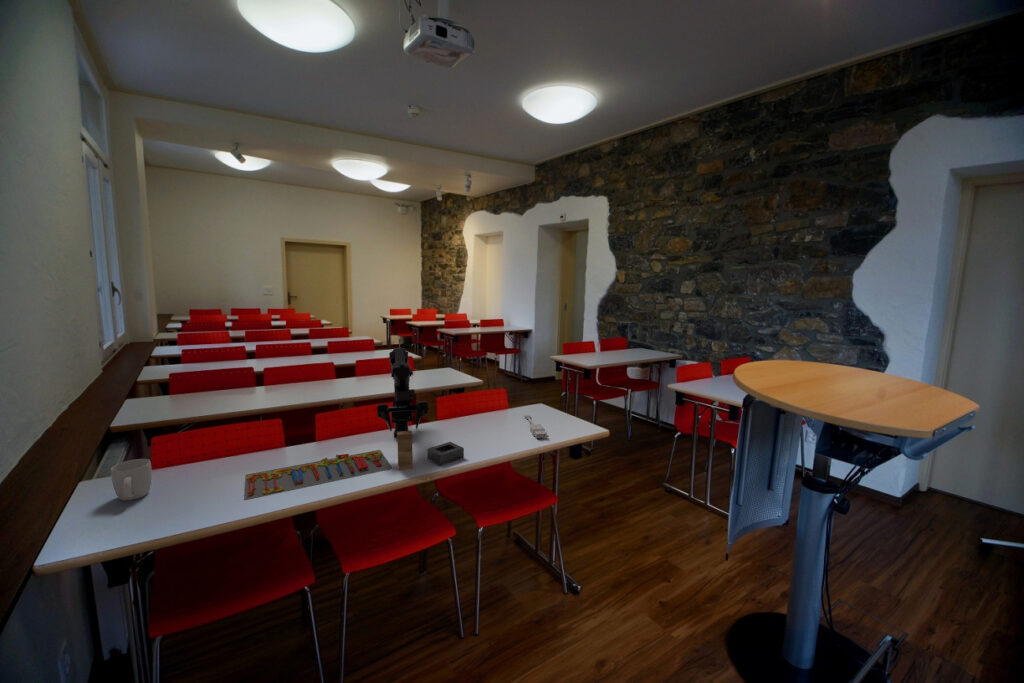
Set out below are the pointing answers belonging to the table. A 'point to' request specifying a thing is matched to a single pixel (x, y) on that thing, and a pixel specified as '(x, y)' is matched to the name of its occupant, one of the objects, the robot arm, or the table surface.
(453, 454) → the grey block holder
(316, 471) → the gear board
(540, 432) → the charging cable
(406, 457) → the brown wooden block
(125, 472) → the mug
